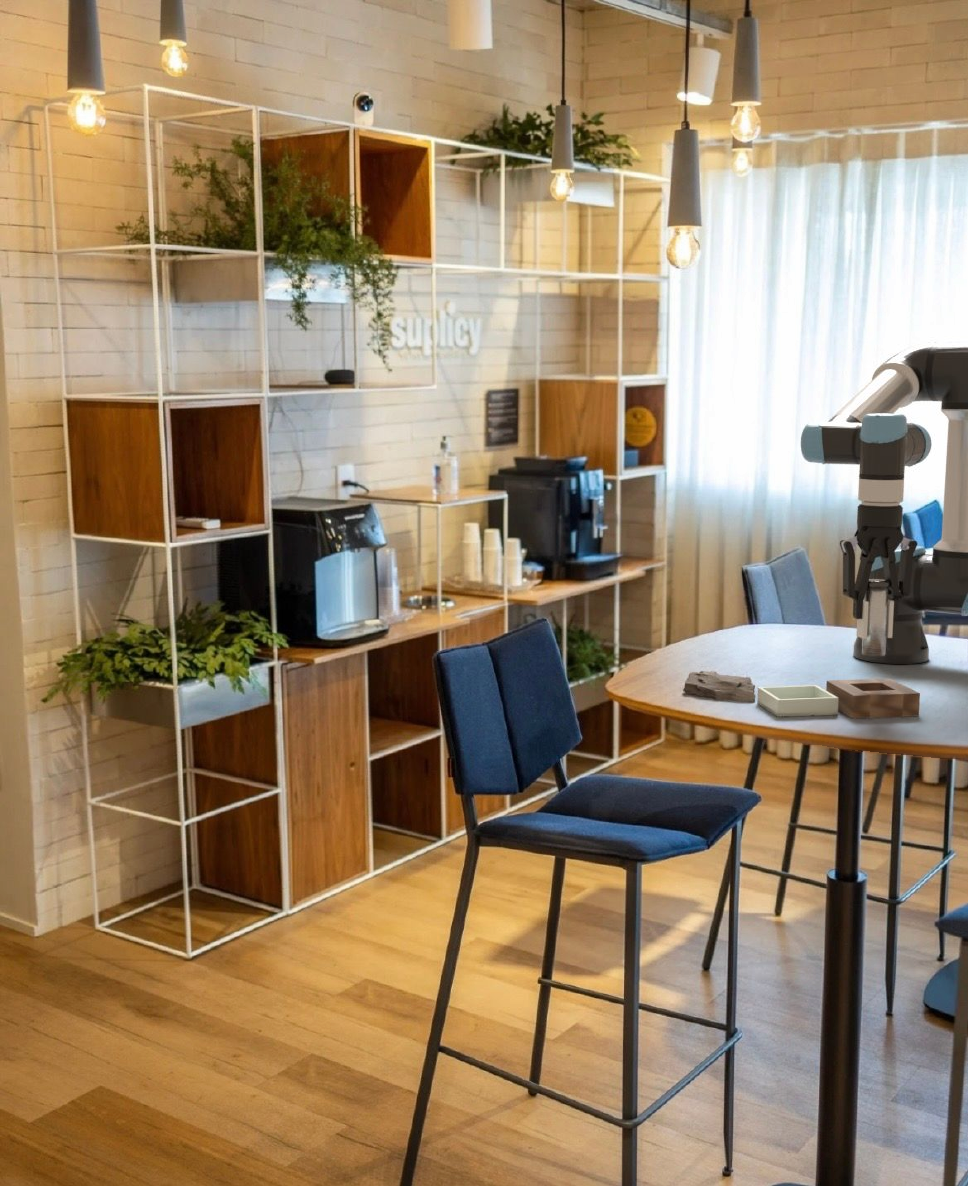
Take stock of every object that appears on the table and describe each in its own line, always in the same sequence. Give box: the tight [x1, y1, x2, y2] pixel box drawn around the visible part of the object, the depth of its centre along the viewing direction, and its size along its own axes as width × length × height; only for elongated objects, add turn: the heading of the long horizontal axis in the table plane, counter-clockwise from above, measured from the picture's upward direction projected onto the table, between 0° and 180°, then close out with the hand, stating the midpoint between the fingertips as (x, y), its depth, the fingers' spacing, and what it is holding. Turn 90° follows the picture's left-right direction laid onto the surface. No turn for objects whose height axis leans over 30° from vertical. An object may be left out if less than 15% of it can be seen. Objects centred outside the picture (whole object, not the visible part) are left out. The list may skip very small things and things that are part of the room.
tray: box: [756, 684, 839, 718], centre depth 243 cm, size 11×10×3 cm
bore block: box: [825, 678, 921, 719], centre depth 243 cm, size 12×12×4 cm
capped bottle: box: [862, 579, 890, 656], centre depth 240 cm, size 4×4×13 cm
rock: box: [682, 670, 756, 703], centre depth 254 cm, size 14×9×4 cm
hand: (874, 636), depth 241 cm, fingers closed on capped bottle, 4 cm apart
